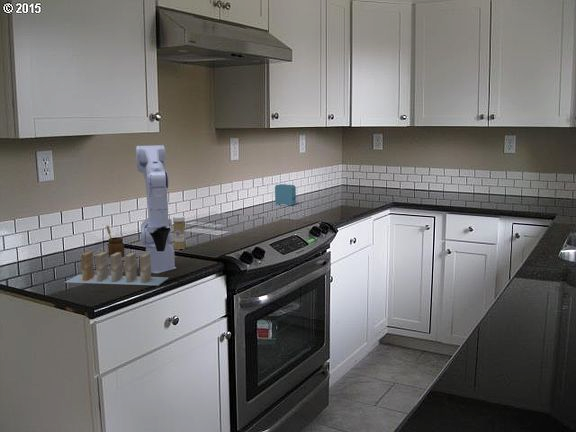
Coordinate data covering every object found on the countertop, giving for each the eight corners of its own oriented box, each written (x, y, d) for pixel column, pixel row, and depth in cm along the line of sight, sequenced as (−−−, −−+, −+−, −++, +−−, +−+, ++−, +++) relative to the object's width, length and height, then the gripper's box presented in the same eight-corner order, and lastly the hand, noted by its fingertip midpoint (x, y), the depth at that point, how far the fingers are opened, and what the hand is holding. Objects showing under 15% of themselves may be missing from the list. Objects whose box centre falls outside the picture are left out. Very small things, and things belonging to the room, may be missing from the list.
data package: (296, 205, 379) (295, 185, 377) (292, 206, 375) (291, 185, 373) (279, 203, 385) (278, 184, 383) (275, 204, 381) (274, 184, 380)
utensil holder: (120, 258, 242) (118, 227, 240) (105, 257, 243) (103, 226, 242) (127, 254, 248) (125, 224, 246) (112, 254, 249) (110, 224, 247)
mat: (169, 278, 211) (169, 277, 211) (158, 286, 201) (158, 285, 201) (79, 275, 216) (78, 274, 216) (64, 283, 206) (64, 282, 206)
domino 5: (151, 278, 209) (150, 253, 208) (145, 282, 204) (144, 256, 203) (146, 278, 210) (145, 253, 208) (140, 282, 205) (139, 256, 203)
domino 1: (94, 276, 213) (92, 251, 211) (87, 280, 208) (85, 254, 206) (89, 276, 213) (88, 251, 211) (82, 280, 208) (80, 254, 207)
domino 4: (136, 278, 210) (135, 252, 209) (130, 282, 205) (129, 256, 204) (132, 278, 210) (131, 252, 209) (126, 282, 205) (124, 256, 204)
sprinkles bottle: (173, 250, 255) (172, 217, 253) (174, 248, 259) (173, 215, 257) (185, 250, 256) (184, 216, 253) (185, 247, 260) (184, 215, 258)
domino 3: (122, 277, 211) (121, 252, 210) (116, 281, 206) (114, 255, 205) (118, 277, 211) (116, 252, 210) (111, 281, 206) (110, 255, 205)
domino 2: (108, 277, 212) (107, 252, 210) (101, 281, 207) (100, 255, 205) (103, 277, 212) (102, 252, 211) (97, 281, 207) (95, 255, 206)
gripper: (157, 205, 210) (158, 245, 212) (136, 212, 196) (138, 255, 198) (176, 206, 209) (178, 246, 211) (157, 212, 195) (159, 256, 197)
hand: (160, 250), depth 204 cm, fingers closed
